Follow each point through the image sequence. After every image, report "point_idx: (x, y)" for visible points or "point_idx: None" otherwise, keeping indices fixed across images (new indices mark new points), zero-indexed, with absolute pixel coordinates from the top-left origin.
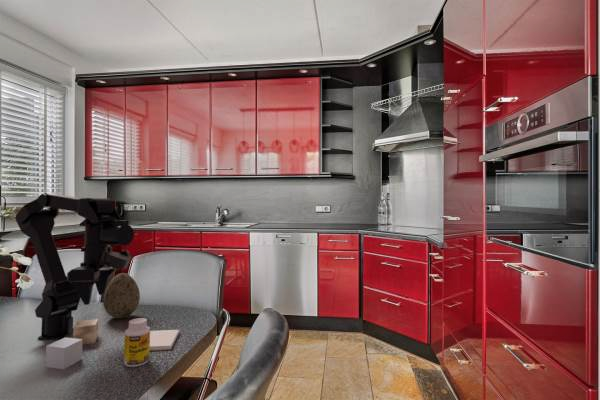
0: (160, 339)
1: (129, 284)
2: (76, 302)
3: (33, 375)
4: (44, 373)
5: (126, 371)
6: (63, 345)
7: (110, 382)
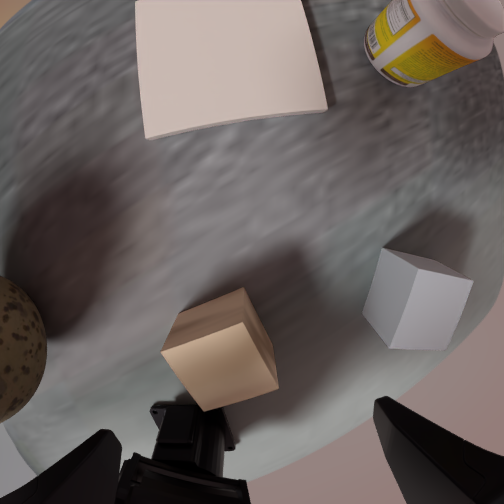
0: (238, 16)
1: None
2: (154, 479)
3: None
4: None
5: None
6: (456, 299)
7: (481, 98)
